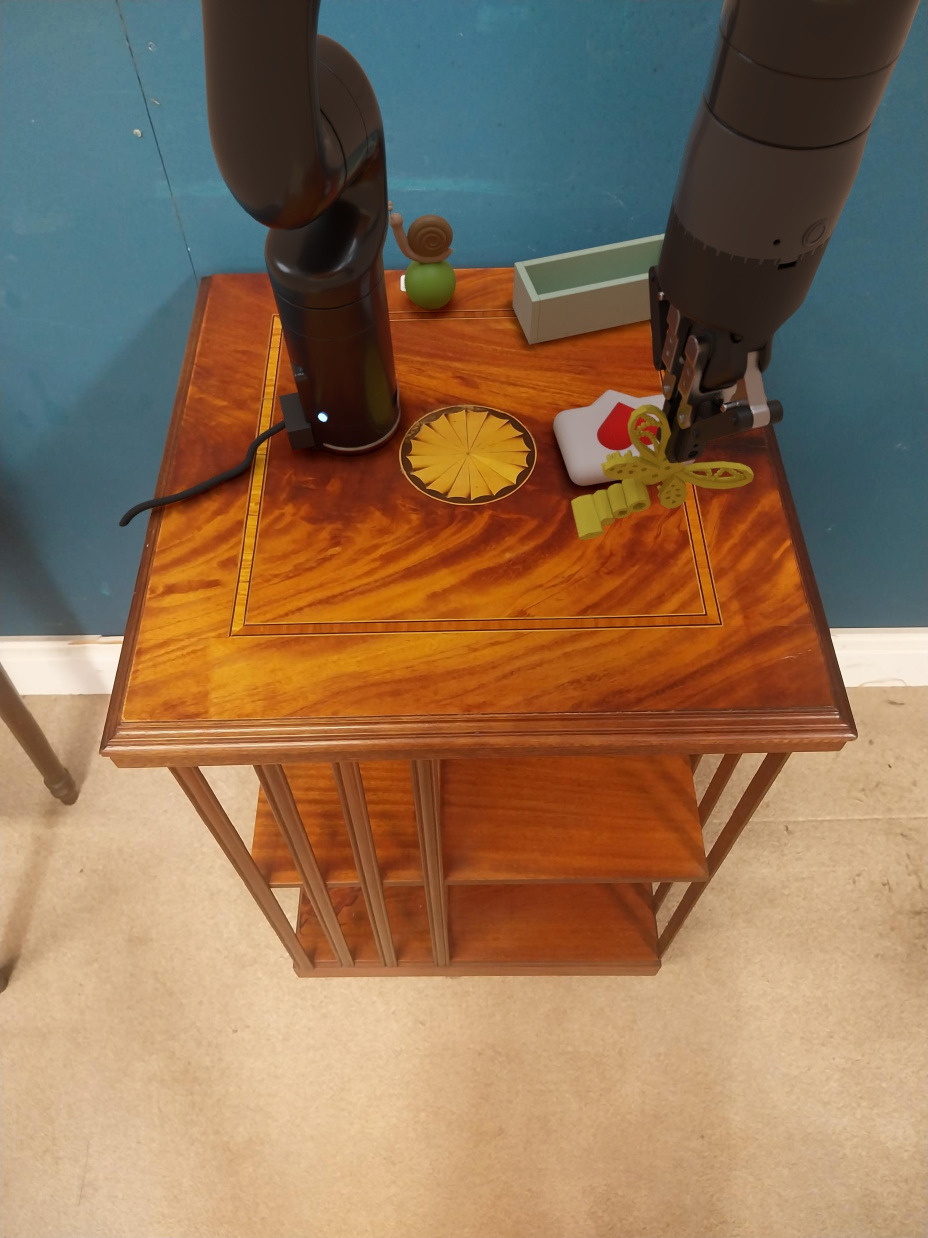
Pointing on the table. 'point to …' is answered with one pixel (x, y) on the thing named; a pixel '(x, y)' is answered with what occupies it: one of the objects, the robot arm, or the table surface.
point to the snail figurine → (426, 259)
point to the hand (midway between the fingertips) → (677, 448)
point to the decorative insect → (647, 478)
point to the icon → (601, 434)
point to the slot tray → (585, 289)
